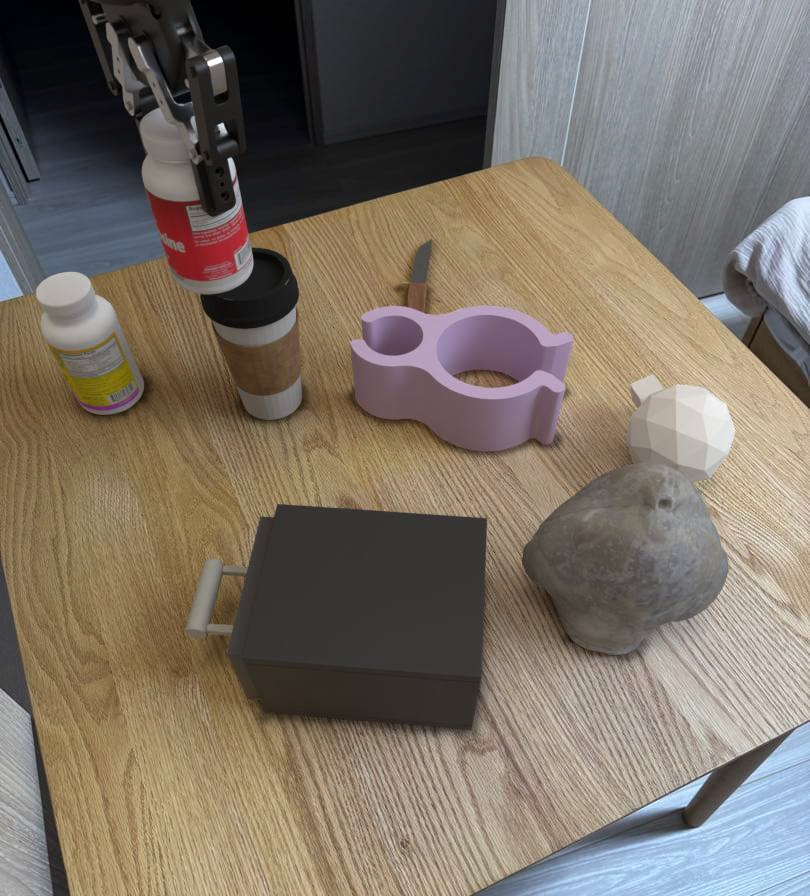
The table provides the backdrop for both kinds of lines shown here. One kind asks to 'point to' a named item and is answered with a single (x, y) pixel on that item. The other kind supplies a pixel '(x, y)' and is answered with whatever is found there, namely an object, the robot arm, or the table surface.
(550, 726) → the table surface
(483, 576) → the dark grey drawer box
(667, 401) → the perfume bottle
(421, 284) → the knife
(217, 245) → the pill bottle
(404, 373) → the clip
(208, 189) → the robot arm
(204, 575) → the dark brown drawer
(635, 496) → the decorative stone
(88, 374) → the supplement bottle
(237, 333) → the coffee cup
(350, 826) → the table surface
